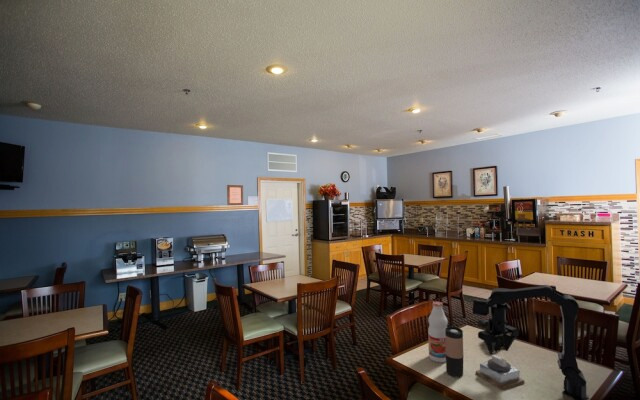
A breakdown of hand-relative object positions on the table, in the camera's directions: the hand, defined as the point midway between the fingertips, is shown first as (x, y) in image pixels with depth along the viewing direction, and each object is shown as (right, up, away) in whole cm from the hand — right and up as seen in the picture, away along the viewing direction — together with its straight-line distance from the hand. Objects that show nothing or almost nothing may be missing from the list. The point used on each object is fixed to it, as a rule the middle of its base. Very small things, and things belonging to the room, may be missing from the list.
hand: (498, 352), depth 146 cm
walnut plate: (0, -11, 0) cm, 11 cm away
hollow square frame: (0, -10, 0) cm, 10 cm away
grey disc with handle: (0, -9, 0) cm, 9 cm away
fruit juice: (-20, -12, +19) cm, 30 cm away
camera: (+17, -11, +32) cm, 38 cm away
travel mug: (-18, -12, +5) cm, 22 cm away
